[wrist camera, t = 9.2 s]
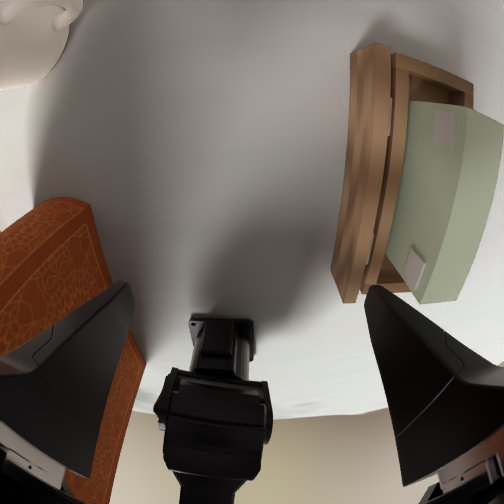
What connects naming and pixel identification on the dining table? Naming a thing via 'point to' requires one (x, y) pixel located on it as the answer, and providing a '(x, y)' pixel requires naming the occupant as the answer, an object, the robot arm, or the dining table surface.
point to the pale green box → (443, 197)
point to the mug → (32, 38)
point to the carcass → (380, 160)
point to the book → (65, 313)
